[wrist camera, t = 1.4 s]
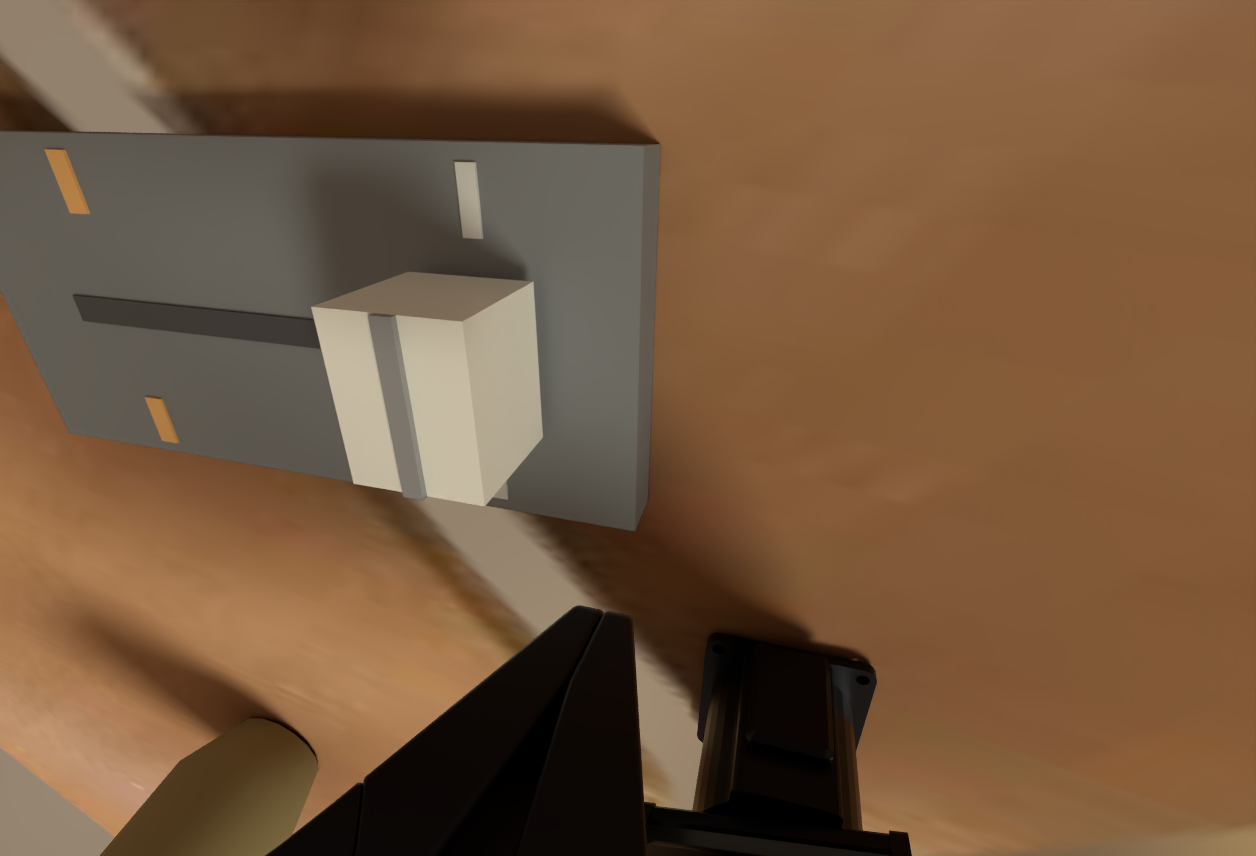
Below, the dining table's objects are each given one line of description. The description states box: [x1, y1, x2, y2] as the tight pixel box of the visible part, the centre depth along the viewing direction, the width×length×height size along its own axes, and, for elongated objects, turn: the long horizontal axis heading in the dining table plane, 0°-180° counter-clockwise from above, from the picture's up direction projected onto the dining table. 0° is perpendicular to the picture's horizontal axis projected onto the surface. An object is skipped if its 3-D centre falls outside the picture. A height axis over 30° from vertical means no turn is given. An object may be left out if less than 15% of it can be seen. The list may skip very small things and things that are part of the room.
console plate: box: [0, 130, 661, 531], centre depth 21 cm, size 12×26×2 cm, turn 89°
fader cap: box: [311, 272, 543, 506], centre depth 16 cm, size 5×4×4 cm
